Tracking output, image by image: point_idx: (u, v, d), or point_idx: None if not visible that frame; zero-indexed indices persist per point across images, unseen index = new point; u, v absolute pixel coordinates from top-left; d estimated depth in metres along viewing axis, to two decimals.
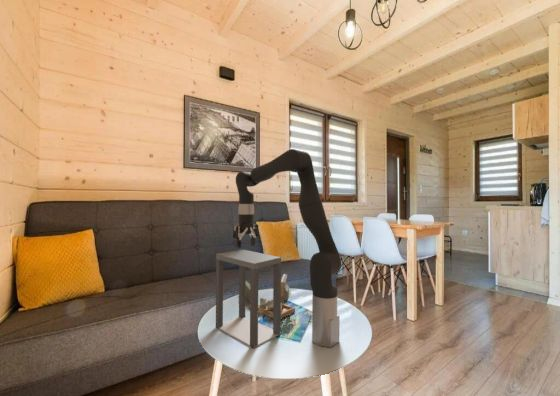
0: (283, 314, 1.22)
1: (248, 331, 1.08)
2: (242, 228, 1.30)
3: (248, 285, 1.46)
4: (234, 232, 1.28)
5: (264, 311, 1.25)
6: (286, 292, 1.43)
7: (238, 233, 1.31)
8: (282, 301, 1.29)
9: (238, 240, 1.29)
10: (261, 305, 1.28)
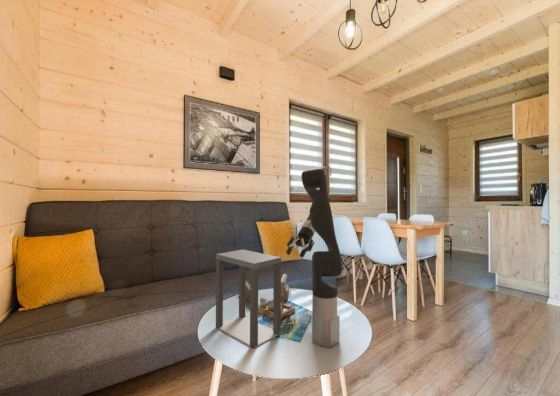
0: (283, 314, 1.22)
1: (248, 331, 1.08)
2: (296, 239, 1.45)
3: (247, 285, 1.46)
4: None
5: (264, 311, 1.25)
6: (286, 292, 1.43)
7: (295, 245, 1.45)
8: (282, 301, 1.29)
9: None
10: (261, 305, 1.28)
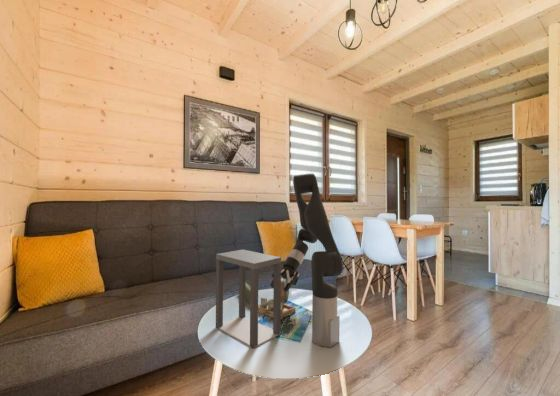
0: (284, 314, 1.22)
1: (248, 331, 1.08)
2: (281, 270, 1.36)
3: (247, 285, 1.46)
4: None
5: (265, 311, 1.25)
6: (285, 292, 1.43)
7: None
8: (283, 301, 1.29)
9: (273, 279, 1.35)
10: (262, 305, 1.28)
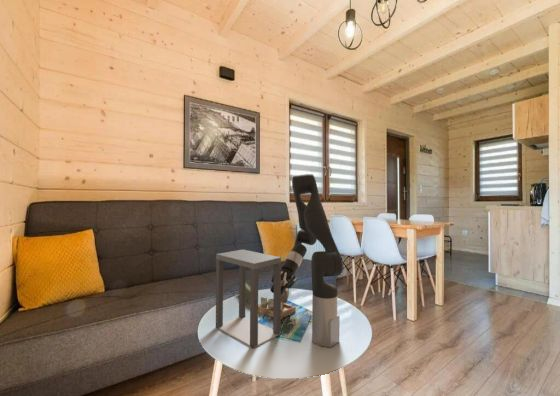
0: (284, 313, 1.22)
1: (248, 331, 1.08)
2: None
3: (246, 285, 1.46)
4: None
5: (265, 310, 1.26)
6: (285, 292, 1.43)
7: None
8: (283, 300, 1.29)
9: (273, 283, 1.32)
10: (262, 304, 1.28)
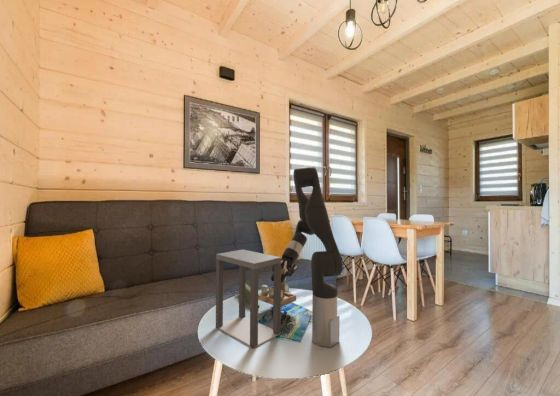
0: (284, 301, 1.22)
1: (248, 331, 1.08)
2: None
3: (246, 285, 1.46)
4: None
5: (265, 298, 1.25)
6: None
7: None
8: (283, 289, 1.29)
9: None
10: (262, 293, 1.28)
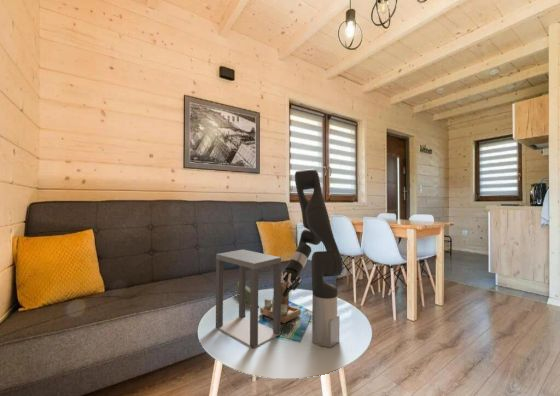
0: (289, 316, 1.18)
1: (248, 331, 1.08)
2: (283, 274, 1.30)
3: None
4: None
5: (269, 313, 1.21)
6: None
7: None
8: (287, 302, 1.24)
9: None
10: (266, 307, 1.24)
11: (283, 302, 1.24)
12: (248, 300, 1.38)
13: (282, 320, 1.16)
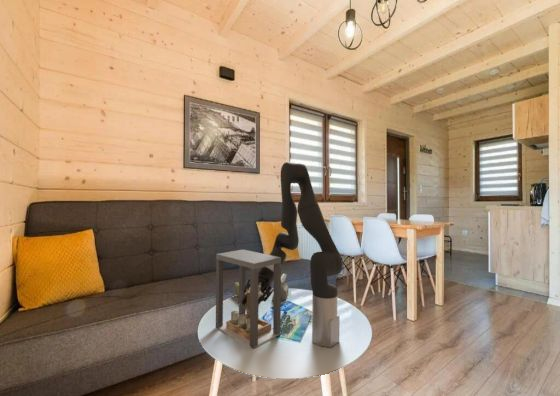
0: None
1: None
2: None
3: None
4: None
5: (235, 328, 1.07)
6: (284, 292, 1.43)
7: None
8: None
9: (245, 294, 1.14)
10: (232, 320, 1.10)
11: None
12: None
13: (248, 337, 1.02)
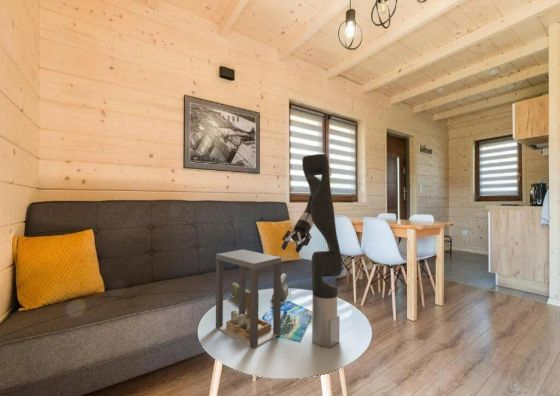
0: None
1: None
2: (292, 232, 1.35)
3: None
4: None
5: (235, 328, 1.07)
6: (284, 291, 1.44)
7: None
8: None
9: (284, 241, 1.34)
10: (232, 320, 1.10)
11: None
12: (245, 301, 1.37)
13: (248, 337, 1.02)
